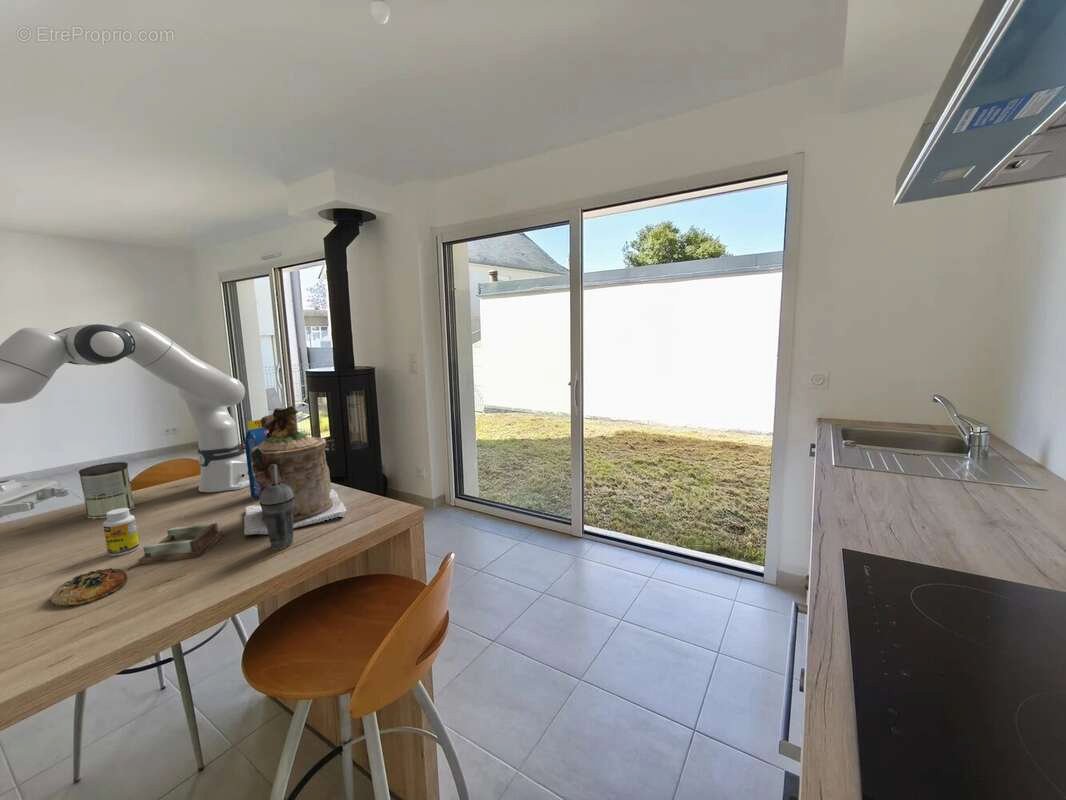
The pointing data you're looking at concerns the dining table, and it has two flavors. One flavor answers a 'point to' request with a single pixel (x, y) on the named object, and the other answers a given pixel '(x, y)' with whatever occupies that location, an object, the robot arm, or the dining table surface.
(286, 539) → the beverage cup
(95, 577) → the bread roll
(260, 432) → the blue food package
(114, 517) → the supplement bottle
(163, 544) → the clip cradle
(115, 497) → the coffee can
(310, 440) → the cookie jar
